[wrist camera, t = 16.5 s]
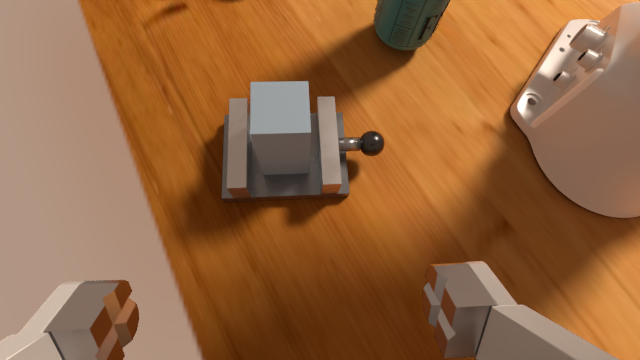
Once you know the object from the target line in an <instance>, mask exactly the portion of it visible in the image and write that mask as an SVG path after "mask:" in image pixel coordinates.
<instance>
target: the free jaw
mask: <svg viewBox="0 0 640 360" xmlns="http://www.w3.org/2000/svg"><path fill="white" fill-rule="evenodd" d="M316 118H317V135H318V151H319V168H320V184H321V194H329V193H339V190H340V187H341V184H342V182H341V169H340V157H339V152H341V151H360V150H361V151H362V152H363V153H364V154H365V155H367V156H376V155H378V154H379V153H381V151H382V150H383V148H384V139H383V137H382V135H381V134H380V133H378V132H376V131H368V132H366V133H364V134H363V135H362V136H361V138H360V137H345V138H338V132H337V120H336V108H335V96H330V97H317V107H316Z"/></svg>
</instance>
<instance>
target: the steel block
mask: <svg viewBox="0 0 640 360" xmlns="http://www.w3.org/2000/svg"><path fill="white" fill-rule="evenodd" d="M250 135H251V138H252V141H253V144H254V148H255V151H256V154H257V157H258V160H259V163H260V167H261V170H262V173H263V175H273V174H301V173H309V159H310V143H311V121H310V102H309V84H308V81H283V82H251V110H250Z"/></svg>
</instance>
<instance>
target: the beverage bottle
mask: <svg viewBox="0 0 640 360" xmlns="http://www.w3.org/2000/svg"><path fill="white" fill-rule="evenodd" d="M449 2H450V0H379V2H378V0H377V5H376V6H377V8H376V9H377V10H376V9H375V10H376V14H374V15H375V18H374V20H373V22H374V24H375V25H374V26H375V30H376V33H377V35H378V36H379V38H380V39H381V40H382V41H383V42H384V43H385V44H387V45H389V46H390V47H393V48H395V49H399V50H413V49H417V48H419V47H421V46H422V45H424V44H425V43H426V42H428V40H429V39H430V37H432V36H431V35H432V33H434V30H436V29H437V28H436V26H437V25H439V24H438V22H439V20H440V18H441V16H442V15H443V12H444V11H445V9H446V7H447V6H448V4H449ZM373 17H374V16H373ZM440 21H441V20H440ZM439 23H440V22H439ZM435 28H436V29H435Z"/></svg>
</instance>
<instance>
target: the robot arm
mask: <svg viewBox="0 0 640 360" xmlns="http://www.w3.org/2000/svg"><path fill="white" fill-rule="evenodd" d="M528 102H529V103H530V104H531V105H530V104H529V103H528ZM510 114H511V116H512V118H513V120H514V121H515V122H516V124H517V125H518V126H519V127H520V129H521V130H522V131H523V132H524V133H525V134H526V136H527V137H528V139H529V142H530V144H531V147H532V149H533V152H534V155H535V157H536V160H537V162H538V164H539V165H540V167H541V169H542V170H543V172H544V173H545V175H546V176H547V177H548V179H549V180H550V181H551V182H552V183H553V185H554V186H555V187H556V188H557V189H558V190H559V191H561V192H562V193H563V194H564V195H565V196H567V197H568V198H569V199H571V200H572V201H574V202H575V203H577V204H578V205H580V206H582V207H584V208H586V209H588V210H590V211H593V212H595V213H598V214H601V215H605V216H610V217H617V218H631V217H638V216H640V2H632V3H628V4H624V5H621V6H619V7H618V8H616V9H615V10H613V11H612V12H611V13H610V14H609V15H607V16H606V17H605V18H604V19H603V20H602V21H596V20H588V19H577V20H571V21H569V22H568V23H567V24H566V25H564V26H563V27H562V28H561V30H560V32H559V33H558V35H557V36H556V38H555V39H554V41H553V42H552V44H551V45H550V47H549V48H548V50H547V52H546V53H545V55H544V56H543V58H542V59H541V61H540V62H539V64H538V66H537V67H536V69H535V70H534V72H533V73H532V75H531V76H530V78H529V79H528V81H527V83H526V84H525V86H524V87H523V89H522V90H521V92H520V93H519V95H518V97H517V98H516V100H515V101H514V103H513V104H512V106H511V108H510ZM425 276H426V278H427V280H428V283H427V284H426V285H425V286H424V287H423V293H422V302H423V309H424V313H425V316H426V318H427V321H428V322H429V323H430V324H431V325H433V326H434V327H435V328H436V329H435V334H434V337H435V339H436V342H437V344H438V346H439V348H440V351H441V353H442V355H443V358H462V357H476V359H477V360H619V359H617V358H615V357H614V356H612V355H610V354H608V353H607V352H605V351H603V350H601V349H600V348H598V347H596V346H594V345H593V344H591V343H589V342H588V341H586V340H584V339H582V338H581V337H579V336H577V335H575V334H574V333H572V332H570V331H568V330H567V329H565V328H563V327H562V326H560V325H558V324H556V323H555V322H553V321H551V320H549V319H548V318H546V317H544V316H542V315H541V314H539V313H537V312H535V311H534V310H532V309H530V308H529V307H527V306H525V305H518V304H517V303H516V302H515V300H514V299H513V298H512V296H511V295H510V294H509V293H508V291H507V290H506V289H505V287H504V286H503V285H502V283H501V282H500V281H499V280H498V278H497V277H496V276H495V274H494V273H493V272H492V270H491V269H490V268H489V266H488V265H487V264H486V263H485V262H483V261H474V262H464V263H446V264H429V266H428V267H427V270H426V275H425ZM131 292H132V289H131V287H130V285H129V282H128V281H125V280H103V281H85V282H65V283H63V284H61V285H59V286H58V287H57V288H56V290H55V291H54V292H53V293H52V294H51V296H50V297H49V298H48V299H47V300H46V301H45V302H44V304H43V305H42V306H41V307H40V308H39V310H38V311H37V312H36V313H35V314H34V315H33V317H32V318H31V319H30V320H29V321H28V322H27V324H26V325H25V326H24V327H23V328H22V330H21V331H20V332H19V333H18V334H14V335H9V336H8V337H6V338H4V339H3V340H1V341H0V360H123V358H124V356H125V355H124V352H123V349H122V348H123V347H124V346H126V345H127V344H128V343H129V342H131V341H132V340H133V337H134V335H135V333H136V331H137V327H138V322H139V312H138V307H137V304H136V303H135V302H134V301H133V300H131V299H130V298H128V297H129V295H130V294H131Z"/></svg>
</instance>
